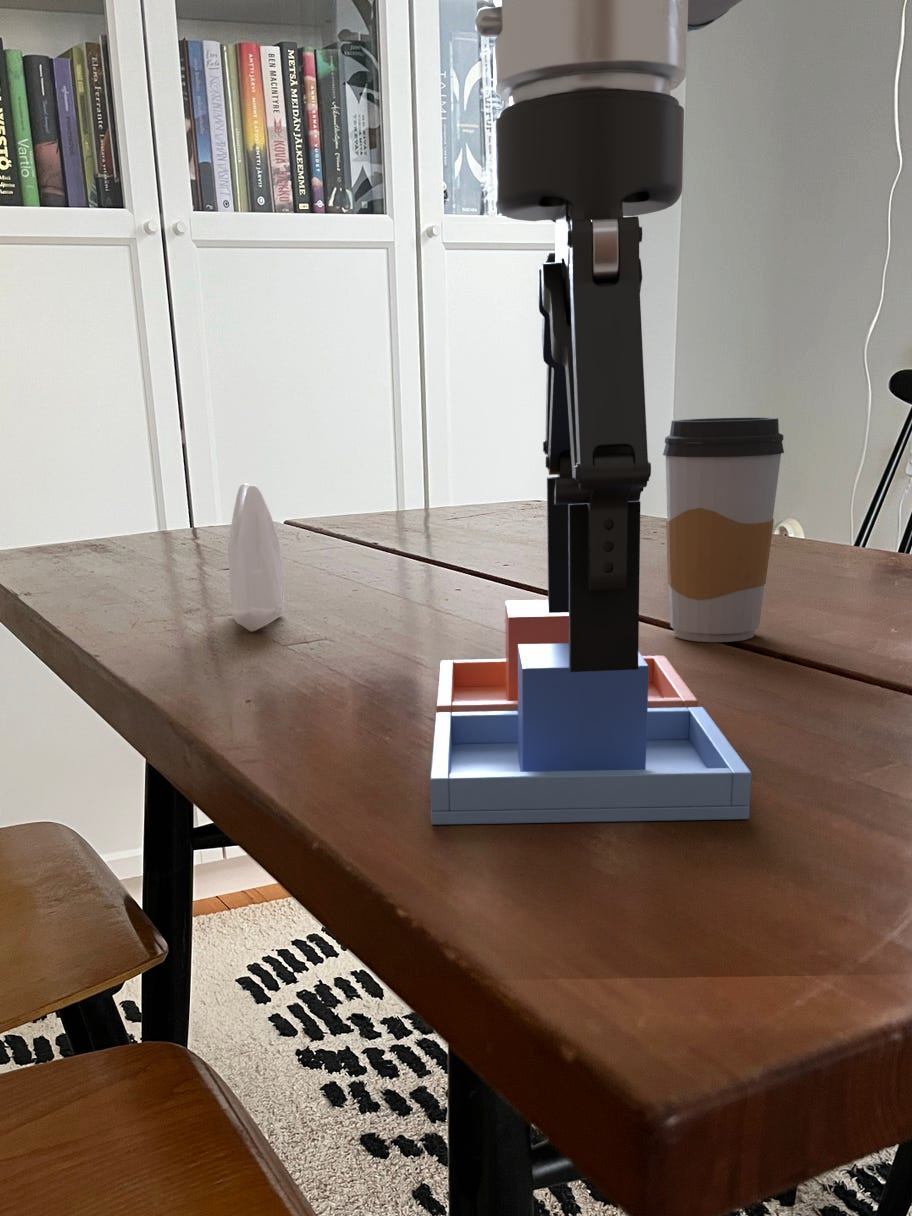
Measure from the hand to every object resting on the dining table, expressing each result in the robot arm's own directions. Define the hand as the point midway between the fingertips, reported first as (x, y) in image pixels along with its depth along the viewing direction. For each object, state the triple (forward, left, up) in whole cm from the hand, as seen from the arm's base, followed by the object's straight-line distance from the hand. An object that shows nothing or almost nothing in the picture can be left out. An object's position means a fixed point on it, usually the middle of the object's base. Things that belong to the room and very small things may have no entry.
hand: (587, 637), depth 57 cm
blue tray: (0, 0, -7) cm, 7 cm away
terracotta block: (+1, -13, -6) cm, 14 cm away
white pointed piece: (+22, -45, -7) cm, 51 cm away
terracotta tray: (0, -13, -7) cm, 15 cm away
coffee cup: (-13, -36, -7) cm, 39 cm away
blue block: (0, 0, -6) cm, 6 cm away
